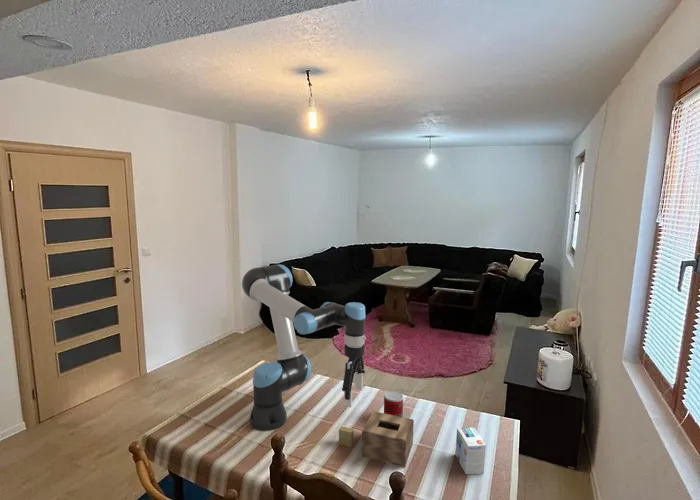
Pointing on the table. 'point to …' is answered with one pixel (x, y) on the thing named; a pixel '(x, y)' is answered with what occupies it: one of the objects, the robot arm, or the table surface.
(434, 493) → the table surface
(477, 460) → the light bulb box
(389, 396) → the canned food
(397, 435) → the brown block with hole
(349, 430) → the butter stick block
